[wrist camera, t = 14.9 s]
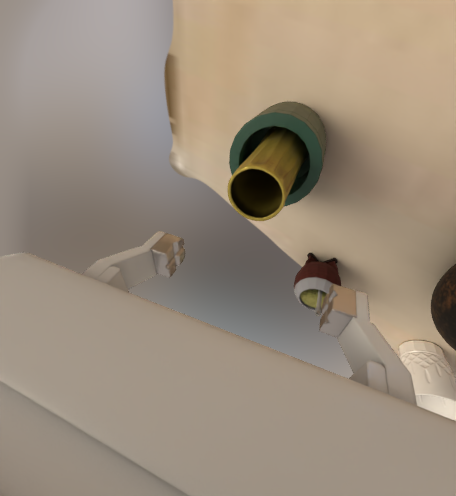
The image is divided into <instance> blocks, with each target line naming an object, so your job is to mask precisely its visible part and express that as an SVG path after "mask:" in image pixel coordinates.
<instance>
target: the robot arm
mask: <svg viewBox="0 0 456 496" xmlns="http://www.w3.org/2000/svg"><path fill="white" fill-rule="evenodd" d="M183 245H184V240H183V239H182V238H180V237H177V236H174V235H171V234H167V233H164V232H161V231H158V232H157V233H155V235H153V236H152V237H151V238H150V239H149V240H148V241H147V242H146V243H145V244H144V245H143V246H142V247H136V248H133V249H130V250H127V251H123V252H121V253H117V254H114V255H111V256H108V257H105V258H102V259H99V260H98V261H96V262H95V263H94V264H93V265H92V266H90V267H89V268H88V269H87V270H86V271H85V272H83V273H82V274H80V273H78V272H75V271H73V270H70V269H68V268H65V267H63V266H60V265H58V264H55V263H52V262H50V261H47V260H45V259H42V258H40V257H37V256H35V255H33V254H30V253H16V254H11V255H7V256H2V257H0V496H456V421H454V420H452V419H449V418H447V417H444V416H442V415H439V414H437V413H434V412H431V411H429V410H426V409H424V408H421V407H419V406H417V401H416V396H415V391H414V386H413V381H412V376H411V373H410V372H409V371H408V369H407V368H406V367H405V365H404V364H403V363H402V361H401V360H400V359H399V357H398V356H397V355H396V353H395V352H394V351H393V349H392V348H391V347H390V345H389V344H388V343H387V341H386V340H385V338H384V337H383V336H382V334H381V333H380V332H379V330H378V329H377V328H376V326H375V325H374V324H373V323H370V317H369V306H368V295H367V294H366V293H363V292H360V291H356V290H353V289H349V288H346V287H342V286H339V285H336V284H332V285H331V287H330V288H329V293H328V294H326V296H325V298H324V301H323V304H322V309H321V313H322V314H323V316H322V318H321V320H320V329H319V331H321V332H323V333H326V334H328V335H331V336H334V337H337V339H338V342H339V344H340V346H341V348H342V350H343V352H344V354H345V356H346V358H347V360H348V363H349V364H350V367H351V369H352V371H353V373H354V374H353V375H352V376H351V377H350V378H349V379H348V378H345V377H342V376H339V375H337V374H335V373H332V372H330V371H327V370H324V369H322V368H320V367H317V366H314V365H312V364H309V363H307V362H304V361H302V360H299V359H297V358H294V357H292V356H289V355H287V354H284V353H281V352H278V351H276V350H274V349H271V348H269V347H266V346H263V345H261V344H258V343H256V342H253V341H251V340H248V339H245V338H243V337H240V336H238V335H235V334H233V333H230V332H228V331H225V330H223V329H220V328H218V327H215V326H213V325H210V324H208V323H205V322H202V321H200V320H197V319H195V318H192V317H190V316H187V315H185V314H182V313H180V312H177V311H175V310H172V309H169V308H167V307H164V306H162V305H159V304H157V303H154V302H151V301H149V300H147V299H144V298H141V297H139V296H136V295H134V294H131V293H129V291H128V289H130V288H132V287H134V286H136V285H138V284H140V283H142V282H144V281H145V280H147V279H149V278H151V277H153V276H155V275H156V274H160V275H162V276H166V277H169V278H170V277H171V276H172V275H173V273H174V272H175V271H176V266H178V265H180V264H181V263H182V262H183V259H184V257H185V249H184V248H183Z"/></svg>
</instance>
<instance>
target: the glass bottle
mask: <svg viewBox="0 0 456 496" xmlns="http://www.w3.org/2000/svg"><path fill="white" fill-rule="evenodd" d="M431 314H432V318H433V321H434V324H435V326H436V328H437V330H438V332H439V333H440V335H441V336H442V337H443V338H444V340H445V341H446V342H447V343H448V344H449V345H450V346H451V347H452V348H453V349H454V350H456V264H455V265H454V266H453V267H451V268H450V269H449V270H448V271H447V272H446V273H445V274H444V275H443V277H442V278H441V279H440V281H439V282H438V284H437V286H436V288H435V290H434V292H433V295H432V300H431Z"/></svg>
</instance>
